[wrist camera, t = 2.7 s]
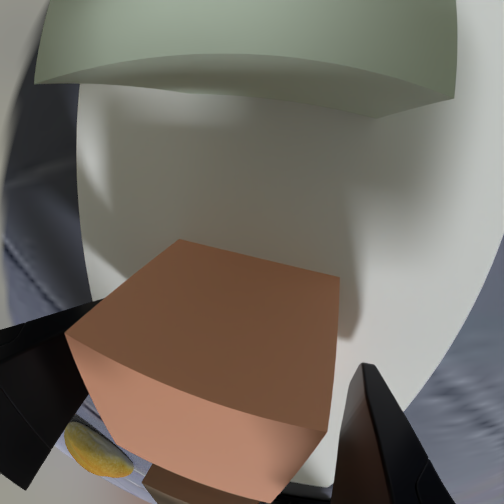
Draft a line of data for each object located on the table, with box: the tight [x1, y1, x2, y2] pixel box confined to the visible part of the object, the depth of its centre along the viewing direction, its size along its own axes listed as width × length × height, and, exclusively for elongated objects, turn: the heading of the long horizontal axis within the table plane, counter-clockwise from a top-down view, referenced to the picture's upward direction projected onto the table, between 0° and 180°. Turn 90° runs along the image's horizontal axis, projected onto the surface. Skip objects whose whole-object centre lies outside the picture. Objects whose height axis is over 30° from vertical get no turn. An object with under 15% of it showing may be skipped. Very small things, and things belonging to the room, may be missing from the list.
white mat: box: [76, 0, 504, 488], centre depth 9 cm, size 24×13×1 cm, turn 173°
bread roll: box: [64, 422, 134, 478], centre depth 21 cm, size 8×9×4 cm
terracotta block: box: [65, 239, 340, 503], centre depth 7 cm, size 4×4×4 cm
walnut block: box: [142, 464, 259, 504], centre depth 10 cm, size 4×4×4 cm
